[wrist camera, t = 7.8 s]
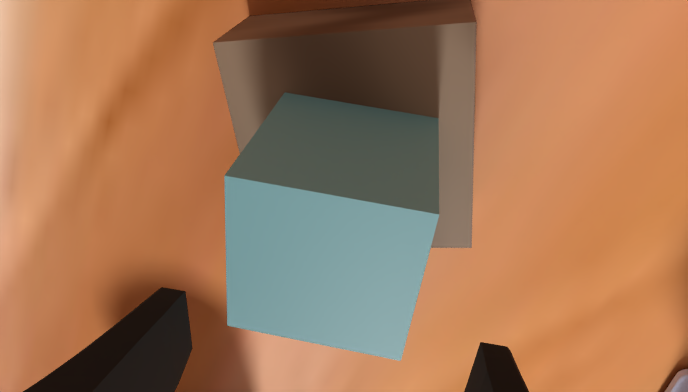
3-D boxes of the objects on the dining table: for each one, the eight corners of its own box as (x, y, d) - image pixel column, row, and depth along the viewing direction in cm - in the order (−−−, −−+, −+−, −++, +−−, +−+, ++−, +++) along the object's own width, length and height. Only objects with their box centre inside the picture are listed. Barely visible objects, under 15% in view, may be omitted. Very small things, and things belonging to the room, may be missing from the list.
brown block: (468, -5, 18) (476, 22, 14) (466, 191, 22) (471, 247, 18) (252, 14, 19) (212, 42, 16) (287, 194, 23) (262, 246, 20)
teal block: (438, 118, 16) (439, 214, 11) (409, 242, 19) (400, 360, 14) (284, 92, 16) (224, 175, 12) (278, 218, 19) (227, 325, 14)
